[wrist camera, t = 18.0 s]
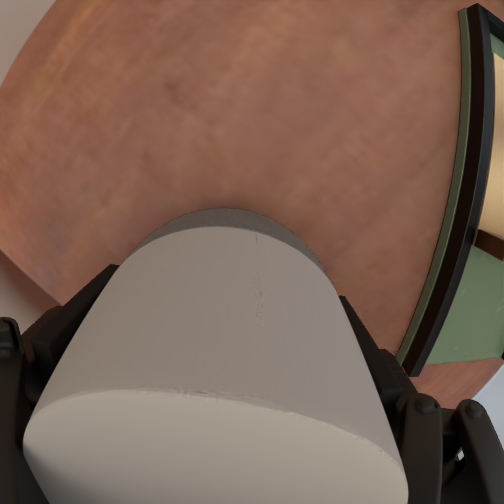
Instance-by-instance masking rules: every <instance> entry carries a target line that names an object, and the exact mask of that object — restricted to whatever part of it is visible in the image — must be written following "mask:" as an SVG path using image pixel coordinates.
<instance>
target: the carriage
mask: <svg viewBox="0 0 504 504" xmlns="http://www.w3.org/2000/svg"><path fill="white" fill-rule="evenodd" d="M492 60H493V87H494V96H493V124H492V138H491V148H490V157H489V164H488V172H487V178H486V184H485V190H484V195H483V200H482V205H481V210H480V214H479V219H478V223H477V227H476V231H475V235H474V239H473V242H472V245H473V246H475V247H477V248H479V249H480V250H482V251H484V252H486V253H488V254H490V255H492V256H493V257H495V258H497V259H499V260H501V261H503V262H504V60H503V59H502V58H501V57H499V56H498V55H497V54H495V53H494V52H493V53H492Z"/></svg>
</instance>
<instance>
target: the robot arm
mask: <svg viewBox="0 0 504 504" xmlns="http://www.w3.org/2000/svg"><path fill="white" fill-rule="evenodd" d="M118 268H119V265H113V264H110V265H109V266H108V267H106V268H105V269H104V270H103V271H102V272H101V273H100V274H98V275H97V276H96V277H95V278H94V279H93V280H92V281H90V282H89V283H88V284H87V285H86V286H85V287H84V288H83V289H82V290H80V291H79V292H78V293H77V294H76V295H75V296H74V297H73V298H72V299H71V300H70V301H68V302H67V303H66V304H65V305H64V306H63V307H62V306H56V307H54V308H51V309H49V310H48V311H46V312H45V313H44V314H43V315H42V316H41V318H39V319H38V320H37V321H36V322H35V323H34V324H32V325H31V326H30V327H29V328H28V329H27V330H26V331H25V332H24V333H23V334H22V335H20V331H19V327H18V323H17V322H16V321H15V320H14V319H12V318H9V317H0V504H50V503H49V501H48V500H47V498H46V496H45V495H44V493H43V491H42V490H41V488H40V486H39V484H38V483H37V481H36V479H35V477H34V475H33V473H32V471H31V469H30V467H29V465H28V463H27V461H26V459H25V457H24V454H23V438H24V434H25V430H26V427H27V425H28V423H29V420H30V418H31V416H32V413H33V411H34V409H35V407H36V405H37V403H38V401H39V399H40V397H41V395H42V393H43V391H44V389H45V387H46V385H47V383H48V381H49V379H50V377H51V376H52V374H53V372H54V370H55V368H56V366H57V365H58V363H59V361H60V359H61V357H62V356H63V354H64V352H65V350H66V349H67V347H68V345H69V343H70V342H71V340H72V338H73V337H74V335H75V333H76V332H77V330H78V328H79V327H80V325H81V323H82V322H83V320H84V319H85V317H86V315H87V314H88V312H89V311H90V309H91V308H92V306H93V304H94V303H95V301H96V300H97V298H98V297H99V295H100V294H101V292H102V291H103V289H104V288H105V286H106V285H107V283H108V282H109V280H110V279H111V277H112V276H113V274H114V273H115V272H116V270H117V269H118ZM338 297H339V299H340V301H341V304H342V306H343V308H344V310H345V313H346V315H347V317H348V320H349V322H350V325H351V327H352V329H353V332H354V334H355V336H356V339H357V341H358V344H359V346H360V349H361V351H362V354H363V356H364V359H365V361H366V364H367V366H368V369H369V371H370V374H371V376H372V379H373V382H374V384H375V387H376V389H377V392H378V395H379V397H380V400H381V403H382V406H383V408H384V411H385V414H386V417H387V420H388V422H389V425H390V428H391V431H392V434H393V437H394V440H395V443H396V446H397V449H398V452H399V455H400V458H401V461H402V465H403V468H404V472H405V476H406V480H407V483H408V502H407V504H504V450H503V448H502V445H501V443H500V440H499V438H498V436H497V433H496V431H495V429H494V427H493V425H492V422H491V420H490V418H489V416H488V414H487V412H486V410H485V408H484V407H483V406H482V405H481V404H480V403H479V402H477V401H475V400H470V399H465V400H462V401H461V402H460V403H459V405H458V406H457V408H456V409H446V408H441V407H440V404H439V403H438V402H437V401H436V400H435V399H434V398H433V397H431V396H429V395H426V394H422V393H418V392H417V390H416V388H415V387H414V385H413V384H412V382H411V381H410V379H409V378H408V376H407V374H406V373H404V370H403V368H402V367H401V366H400V364H399V362H398V361H397V359H396V358H395V356H394V355H392V354H391V353H390V352H389V351H387V350H386V349H379V348H378V347H377V345H376V343H375V342H374V340H373V339H372V337H371V336H370V334H369V333H368V331H367V329H366V328H365V326H364V325H363V323H362V322H361V320H360V319H359V317H358V316H357V314H356V313H355V311H354V310H353V308H352V307H351V305H350V304H349V302H348V301H347V299H346V298H345V296H338ZM461 451H463V453H464V457H463V458H462V459H461V460H459V458H458V454H459V453H460V452H461Z"/></svg>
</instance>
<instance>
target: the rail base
mask: <svg viewBox="0 0 504 504" xmlns="http://www.w3.org/2000/svg"><path fill="white" fill-rule="evenodd" d="M459 21H460V33H461V51H462V92H461V111H460V124H459V134H458V143H457V151H456V158H455V165H454V171H453V177H452V183H451V188H450V193H449V198H448V203H447V208H446V212H445V217H444V221H443V225H442V229H441V233H440V237H439V240H438V244H437V248H436V251H435V254H434V258H433V261H432V264H431V268H430V271H429V274H428V277H427V280H426V283H425V286H424V289H423V292H422V295H421V297H420V300H419V303H418V306H417V308H416V311H415V313H414V316H413V319H412V321H411V324H410V326H409V328H408V331H407V333H406V336H405V338H404V340H403V343H402V345H401V347H400V349H399V352H398V354H397V356H396V359H397V361H398V362H399V364H400V365H402V367H403V369H404V370H405V372H406V374H407V375H408V377H418V376H419V374H420V373H421V371H422V369H423V367H424V365H425V364H437V363H450V362H462V361H471V360H480V359H488V358H496V357H501V358H502V359H503V360H504V262H503V261H501V260H499V259H497V258H495V257H493V256H492V255H490V254H488V253H486V252H484V251H482V250H480V249H479V248H477V247H475V246H473V245H472V242H473V239H474V235H475V231H476V227H477V223H478V219H479V214H480V210H481V205H482V200H483V195H484V190H485V184H486V178H487V172H488V164H489V157H490V148H491V138H492V124H493V96H494V87H493V60H492V53H493V52H494V53H495V54H497V55H498V56H499V57H501V58H502V59H503V60H504V22H502V21H501V20H500V19H499V18H497V17H496V16H495V15H493V14H492V13H491V12H489V11H488V10H486V9H485V8H484V7H483V6H481V5H480V4H478V3H476V4H474V5H472V6H470V7H468V8H467V9H466V8H464V9H462V10H460V11H459Z"/></svg>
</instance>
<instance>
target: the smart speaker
mask: <svg viewBox="0 0 504 504" xmlns="http://www.w3.org/2000/svg"><path fill="white" fill-rule="evenodd" d="M23 454H24V457H25V459H26V461H27V463H28V465H29V467H30V469H31V471H32V473H33V475H34V477H35V479H36V481H37V483H38V484H39V486H40V488H41V490H42V491H43V493H44V495H45V496H46V498H47V500H48V501H49V503H50V504H407V502H408V483H407V480H406V476H405V472H404V468H403V465H402V461H401V458H400V455H399V452H398V449H397V446H396V443H395V440H394V437H393V434H392V431H391V428H390V425H389V422H388V420H387V417H386V414H385V411H384V408H383V406H382V403H381V400H380V397H379V395H378V392H377V389H376V387H375V384H374V382H373V379H372V376H371V374H370V371H369V369H368V366H367V364H366V361H365V359H364V356H363V354H362V351H361V349H360V346H359V344H358V341H357V339H356V336H355V334H354V332H353V329H352V327H351V325H350V322H349V320H348V317H347V315H346V313H345V310H344V308H343V306H342V304H341V301H340V299H339V297H338V295H337V292H336V291H335V289H334V287H333V285H332V283H331V281H330V279H329V277H328V276H327V274H326V272H325V271H324V269H323V267H322V266H321V264H320V263H319V261H318V260H317V258H316V257H315V256H314V254H313V253H312V252H311V250H310V249H309V248H308V247H307V246H306V245H305V244H304V243H303V242H302V241H301V240H300V239H299V238H298V237H297V236H296V235H295V234H294V233H292V232H291V231H290V230H288V229H287V228H285V227H284V226H283V225H281V224H279V223H277V222H276V221H274V220H272V219H270V218H267V217H265V216H263V215H260V214H257V213H254V212H250V211H246V210H240V209H232V208H212V209H204V210H199V211H195V212H191V213H188V214H185V215H182V216H180V217H177V218H175V219H173V220H171V221H169V222H167V223H166V224H164V225H162V226H161V227H159V228H158V229H156V230H155V231H154V232H152V233H151V234H150V235H149V236H147V237H146V238H145V239H144V240H143V241H142V242H141V243H140V244H139V245H138V246H137V247H136V248H135V249H134V250H133V251H132V252H131V253H130V255H129V256H128V257H127V258H126V259H125V260H124V262H123V263H122V264H121V265H120V266H119V268H118V269H117V270H116V272H115V273H114V274H113V276H112V277H111V279H110V280H109V282H108V283H107V285H106V286H105V288H104V289H103V291H102V292H101V294H100V295H99V297H98V298H97V300H96V301H95V303H94V304H93V306H92V308H91V309H90V311H89V312H88V314H87V315H86V317H85V319H84V320H83V322H82V323H81V325H80V327H79V328H78V330H77V332H76V333H75V335H74V337H73V338H72V340H71V342H70V343H69V345H68V347H67V349H66V350H65V352H64V354H63V356H62V357H61V359H60V361H59V363H58V365H57V366H56V368H55V370H54V372H53V374H52V376H51V377H50V379H49V381H48V383H47V385H46V387H45V389H44V391H43V393H42V395H41V397H40V399H39V401H38V403H37V405H36V407H35V409H34V411H33V413H32V416H31V418H30V420H29V423H28V425H27V427H26V430H25V434H24V438H23Z"/></svg>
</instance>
